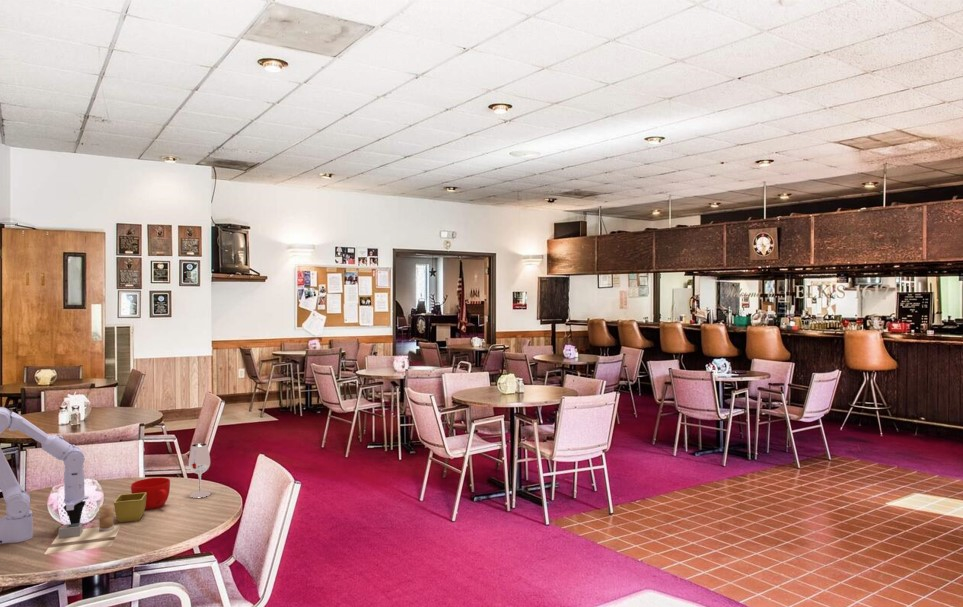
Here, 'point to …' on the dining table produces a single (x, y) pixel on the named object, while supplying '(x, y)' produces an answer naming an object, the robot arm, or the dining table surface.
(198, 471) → the wineglass
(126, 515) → the flower pot
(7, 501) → the robot arm
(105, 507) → the brown cylinder
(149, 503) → the ceramic cup
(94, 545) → the board
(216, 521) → the dining table surface
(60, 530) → the box
